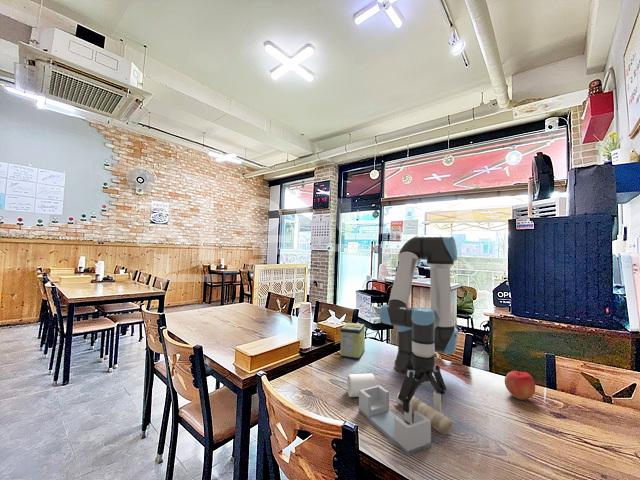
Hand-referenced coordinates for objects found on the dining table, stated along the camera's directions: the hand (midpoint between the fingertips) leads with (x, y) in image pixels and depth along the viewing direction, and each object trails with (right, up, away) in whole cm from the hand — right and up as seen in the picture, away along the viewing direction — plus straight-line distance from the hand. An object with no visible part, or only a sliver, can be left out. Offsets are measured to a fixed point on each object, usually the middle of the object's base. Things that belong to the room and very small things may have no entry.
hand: (423, 416), depth 97 cm
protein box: (-17, -3, +58) cm, 61 cm away
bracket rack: (-12, 0, -6) cm, 14 cm away
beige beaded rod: (0, +2, 0) cm, 2 cm away
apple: (+43, -1, +13) cm, 45 cm away
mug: (-19, -1, +16) cm, 25 cm away
